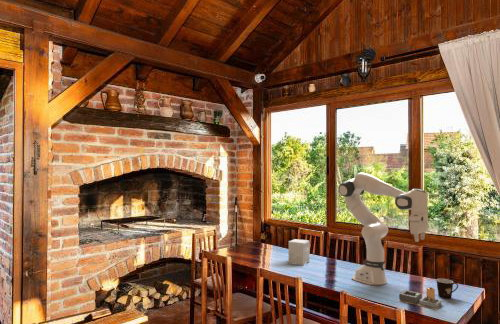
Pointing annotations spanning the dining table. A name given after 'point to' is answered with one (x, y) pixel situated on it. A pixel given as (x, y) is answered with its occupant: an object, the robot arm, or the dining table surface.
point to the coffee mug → (445, 288)
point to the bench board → (419, 304)
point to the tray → (429, 304)
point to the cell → (431, 295)
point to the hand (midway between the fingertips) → (419, 240)
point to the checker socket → (409, 298)
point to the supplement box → (298, 251)
